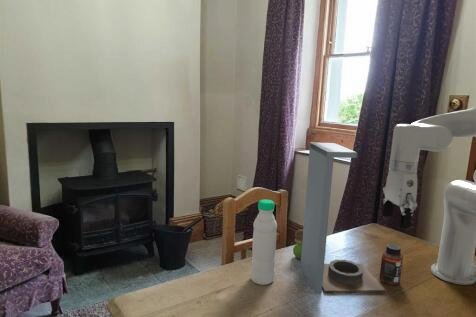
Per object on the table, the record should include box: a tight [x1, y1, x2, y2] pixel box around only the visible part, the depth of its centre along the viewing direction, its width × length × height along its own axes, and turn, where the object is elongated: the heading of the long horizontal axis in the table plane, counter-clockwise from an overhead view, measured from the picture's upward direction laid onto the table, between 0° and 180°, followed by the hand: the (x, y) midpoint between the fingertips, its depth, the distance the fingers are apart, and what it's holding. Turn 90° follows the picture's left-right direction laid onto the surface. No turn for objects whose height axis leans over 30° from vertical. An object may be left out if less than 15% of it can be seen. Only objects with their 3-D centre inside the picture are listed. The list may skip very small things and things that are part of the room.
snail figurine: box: [292, 229, 303, 260], centre depth 121 cm, size 5×6×12 cm
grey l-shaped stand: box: [300, 141, 358, 295], centre depth 105 cm, size 8×17×42 cm, turn 5°
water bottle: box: [250, 199, 278, 286], centre depth 105 cm, size 7×7×25 cm
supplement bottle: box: [379, 243, 404, 286], centre depth 109 cm, size 6×6×11 cm
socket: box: [322, 259, 386, 295], centre depth 109 cm, size 18×16×4 cm
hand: (395, 221), depth 106 cm, fingers open, 9 cm apart
